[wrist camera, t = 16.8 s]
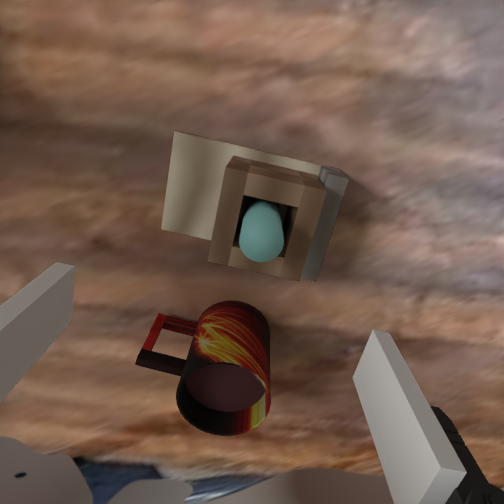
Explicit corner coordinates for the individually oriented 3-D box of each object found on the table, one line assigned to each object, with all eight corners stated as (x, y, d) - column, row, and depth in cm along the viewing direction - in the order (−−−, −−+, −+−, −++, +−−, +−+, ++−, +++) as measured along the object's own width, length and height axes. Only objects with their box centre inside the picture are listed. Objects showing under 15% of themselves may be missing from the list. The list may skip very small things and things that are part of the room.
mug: (158, 308, 47) (125, 371, 36) (264, 296, 46) (263, 356, 35) (175, 368, 51) (149, 442, 40) (274, 358, 50) (276, 431, 39)
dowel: (243, 216, 41) (235, 256, 30) (249, 185, 40) (244, 215, 29) (274, 223, 41) (277, 266, 30) (282, 192, 40) (288, 225, 29)
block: (217, 233, 42) (207, 261, 35) (233, 155, 39) (225, 167, 31) (293, 250, 43) (299, 281, 35) (315, 174, 39) (327, 190, 32)
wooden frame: (163, 226, 43) (148, 244, 38) (176, 130, 39) (161, 135, 34) (311, 259, 44) (317, 281, 38) (339, 169, 40) (351, 179, 34)
